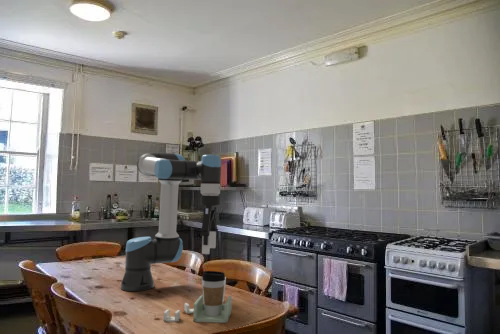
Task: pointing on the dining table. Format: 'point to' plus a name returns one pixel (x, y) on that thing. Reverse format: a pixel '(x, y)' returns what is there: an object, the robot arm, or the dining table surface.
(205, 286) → the coffee cup
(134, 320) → the dining table surface
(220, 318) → the holder
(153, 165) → the robot arm
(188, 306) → the clip
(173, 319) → the clip
